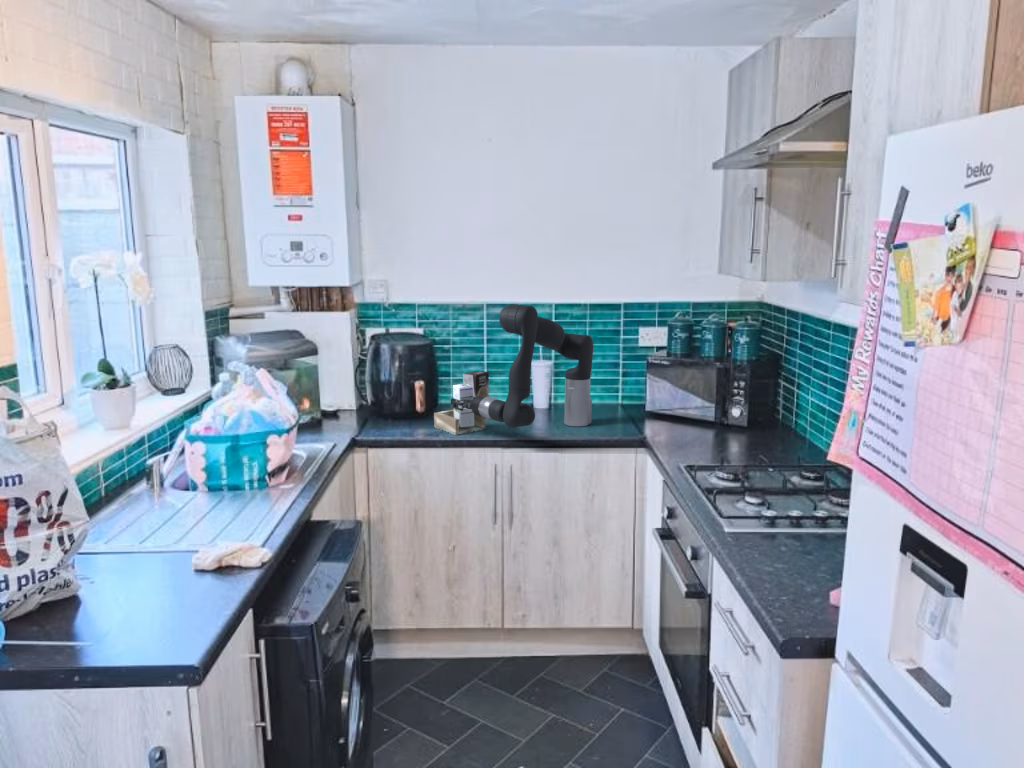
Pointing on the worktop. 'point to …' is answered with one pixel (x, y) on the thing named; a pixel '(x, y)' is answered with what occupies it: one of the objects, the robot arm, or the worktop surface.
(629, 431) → the worktop surface
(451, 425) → the cubby
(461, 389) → the syrup box
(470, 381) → the coffee box
